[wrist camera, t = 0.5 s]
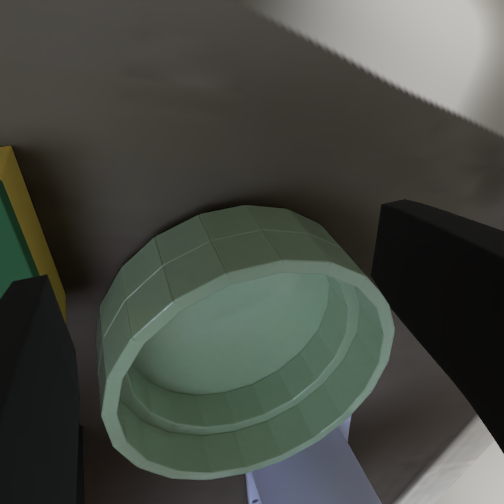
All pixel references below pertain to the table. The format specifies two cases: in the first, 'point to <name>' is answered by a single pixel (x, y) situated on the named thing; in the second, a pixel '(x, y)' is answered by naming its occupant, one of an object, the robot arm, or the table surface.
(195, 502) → the table surface
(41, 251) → the sponge
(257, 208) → the bowl
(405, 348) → the table surface
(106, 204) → the table surface
